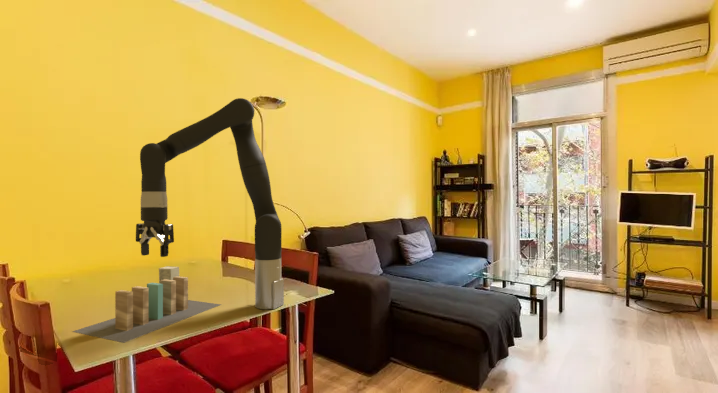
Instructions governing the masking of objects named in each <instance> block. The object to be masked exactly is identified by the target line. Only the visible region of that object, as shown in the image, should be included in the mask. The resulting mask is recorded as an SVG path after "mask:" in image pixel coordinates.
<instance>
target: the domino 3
mask: <svg viewBox="0 0 718 393" xmlns="http://www.w3.org/2000/svg"><path fill="white" fill-rule="evenodd" d="M146 287H148V288H149V312H148V318H151V319H157V320H158V319H161V318H163V284H160V283H159V282H149V283H146Z"/></svg>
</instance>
